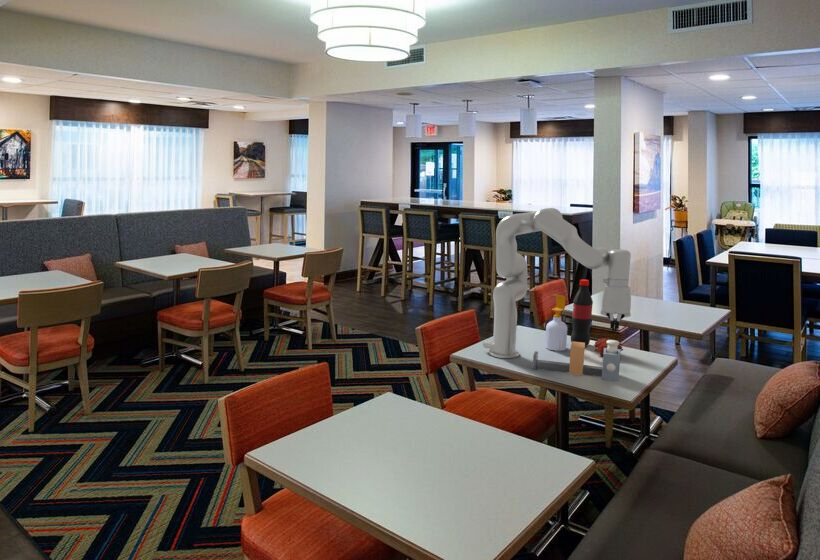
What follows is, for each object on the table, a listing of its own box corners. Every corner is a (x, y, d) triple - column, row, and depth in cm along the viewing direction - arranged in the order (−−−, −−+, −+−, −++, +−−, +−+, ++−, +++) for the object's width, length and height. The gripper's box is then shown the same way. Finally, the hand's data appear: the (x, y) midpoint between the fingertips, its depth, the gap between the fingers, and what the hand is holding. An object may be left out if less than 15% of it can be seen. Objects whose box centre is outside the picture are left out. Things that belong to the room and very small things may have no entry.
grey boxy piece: (601, 379, 224) (603, 354, 222) (601, 372, 232) (603, 347, 230) (618, 381, 222) (620, 355, 220) (618, 374, 230) (620, 349, 228)
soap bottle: (541, 348, 261) (544, 294, 257) (550, 343, 268) (553, 290, 264) (560, 352, 256) (564, 297, 251) (569, 347, 263) (572, 293, 258)
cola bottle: (587, 342, 271) (592, 278, 266) (591, 348, 263) (596, 281, 257) (568, 341, 272) (573, 277, 266) (571, 347, 264) (576, 281, 258)
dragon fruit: (590, 356, 256) (619, 364, 252) (592, 350, 248) (622, 358, 245) (595, 338, 259) (623, 346, 255) (596, 332, 251) (626, 339, 248)
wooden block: (568, 373, 228) (570, 346, 226) (570, 368, 235) (571, 341, 233) (582, 375, 227) (584, 347, 225) (583, 369, 233) (585, 342, 231)
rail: (532, 369, 234) (533, 354, 233) (534, 365, 238) (534, 351, 237) (604, 378, 225) (605, 362, 224) (604, 373, 230) (605, 359, 229)
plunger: (605, 355, 224) (606, 342, 223) (605, 351, 228) (606, 339, 227) (618, 356, 223) (619, 343, 222) (618, 353, 227) (619, 340, 226)
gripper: (596, 283, 219) (593, 331, 222) (639, 286, 214) (635, 335, 218) (596, 279, 226) (593, 326, 229) (638, 282, 221) (635, 330, 225)
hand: (614, 330), depth 224 cm, fingers closed
